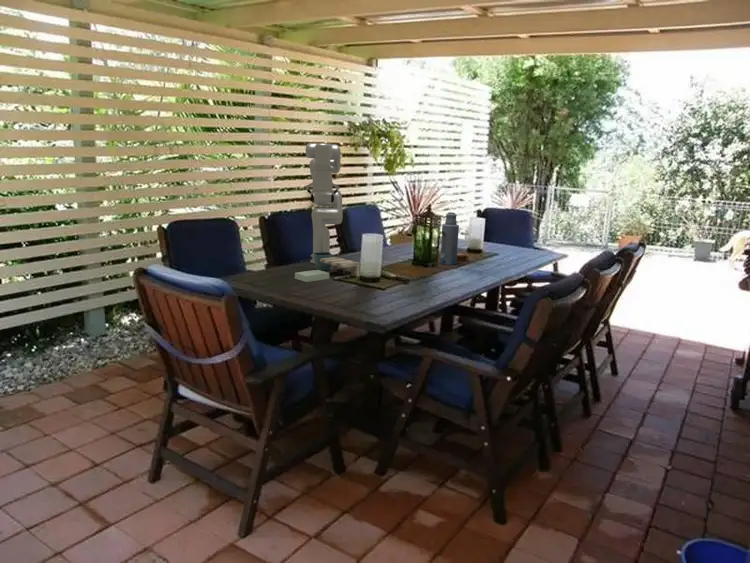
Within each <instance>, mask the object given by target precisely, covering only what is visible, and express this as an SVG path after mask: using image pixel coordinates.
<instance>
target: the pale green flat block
mask: <svg viewBox="0 0 750 563" xmlns="http://www.w3.org/2000/svg"><path fill="white" fill-rule="evenodd" d="M324 271H325V270H323V271H320V270H318V269H314V270H305V271H299V272H294V280H299V281H301V282H305V283H311V282H317V281H323V280H330V273H328V272H324Z"/></svg>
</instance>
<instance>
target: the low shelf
mask: <svg viewBox="0 0 750 563" xmlns="http://www.w3.org/2000/svg"><path fill="white" fill-rule="evenodd" d="M320 262H324V263H327V264H331V266H333V269H332V270H323V271H324V272H328V273H329V274H332V273H336V274H340V275H338V276H334V277H333V278H334V280H339V278H340V279H346V278H345V277H347V278H351V277H354V276H359V277H360V272H361V271H360V266H361V263H360V262H358V261H355V260H352V259H347V258H342V257H338V256H332V257H331V258H322V259H320ZM341 274H342V275H341ZM351 275H352V276H351ZM350 276H351V277H350Z"/></svg>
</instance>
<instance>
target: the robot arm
mask: <svg viewBox="0 0 750 563" xmlns="http://www.w3.org/2000/svg"><path fill="white" fill-rule="evenodd" d="M341 152H342V151H341V147H340V146H339V145H338V144H334V143H332V144H331V143H324V142H323V143H317V142H315V143H314V142H310V143H308V142H307V144H306V146H305V156H306V158H307V159H311V160H309V173H310V175H311V178H312V182H311V183H308V184H307V185H305V186H304V187H305V190H306V191H307V193H308V194H310V201H311V203H312V204H314V205H316V206H317V207H314V208H313V209H312V211H311V221H312V233H313V234H312V254H310V257H311V258H312V259H310V263H311V264H314V265H315V261H314V253H319V252H329V253H331V251H330V250H331V249H330V248H331V246H330V245H331V244H330V243H331V240H330V238H331V233H330V232H331V231H330V229H329V228H328V227H327V226H326V225H340V224H342V223H343V216H344V215H343V195H342V193H341V192H342V191H340V186H339V185H337V184H335V183H333V174H334V175H335V174H338V173H340V170H341V158H342V156H341V155H342V153H341ZM310 187H311V188H312V190H310ZM333 187H334V188H335V189H333Z"/></svg>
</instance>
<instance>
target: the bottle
mask: <svg viewBox="0 0 750 563" xmlns="http://www.w3.org/2000/svg"><path fill="white" fill-rule="evenodd" d="M441 226H442V227H441V246H440V247H441V248H440V260H439V263H440V264H441V265H445V266H447V265H448V266H452V265H453V266H454V265H457V263H458V261H457V260H458V244H459V232H460V231H459V230H460V225H459V224H457V213H455V212H451V211H450V212H447V213H446V215H445V223H443V224H442V225H441Z"/></svg>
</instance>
